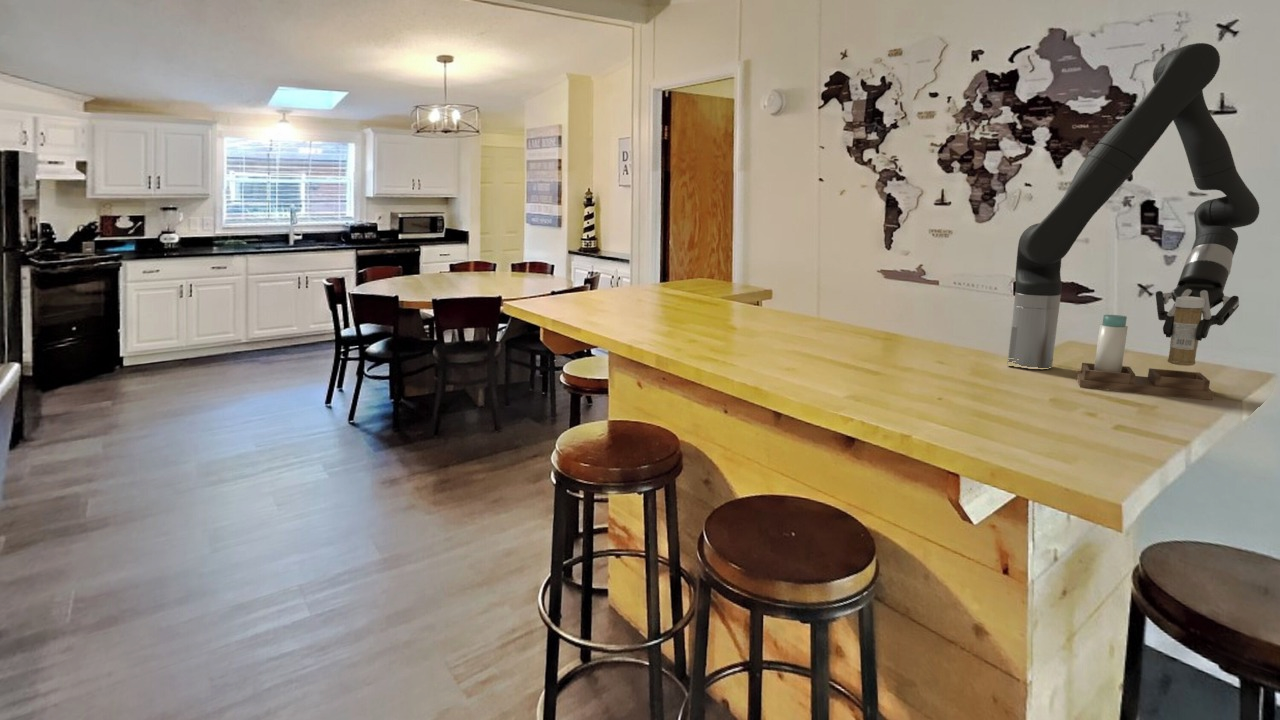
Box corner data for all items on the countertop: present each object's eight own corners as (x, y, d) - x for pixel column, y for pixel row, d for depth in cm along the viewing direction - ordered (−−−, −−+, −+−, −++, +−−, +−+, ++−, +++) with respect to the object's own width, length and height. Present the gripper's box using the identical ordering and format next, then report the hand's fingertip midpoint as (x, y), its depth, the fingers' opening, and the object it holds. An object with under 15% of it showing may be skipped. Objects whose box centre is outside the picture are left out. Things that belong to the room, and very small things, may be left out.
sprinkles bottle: (1198, 364, 141) (1209, 297, 138) (1189, 367, 139) (1199, 299, 136) (1172, 360, 145) (1181, 295, 142) (1162, 363, 142) (1172, 297, 140)
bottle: (1094, 378, 147) (1102, 316, 144) (1092, 373, 151) (1100, 313, 148) (1121, 380, 145) (1130, 318, 142) (1118, 376, 149) (1127, 315, 146)
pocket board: (1079, 387, 146) (1081, 370, 145) (1076, 377, 155) (1078, 361, 154) (1212, 400, 136) (1215, 382, 135) (1200, 388, 145) (1203, 372, 144)
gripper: (1162, 257, 147) (1138, 321, 142) (1250, 260, 137) (1228, 329, 132) (1165, 281, 152) (1142, 343, 147) (1250, 285, 142) (1229, 352, 136)
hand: (1183, 336), depth 139 cm, fingers closed on sprinkles bottle, 4 cm apart
